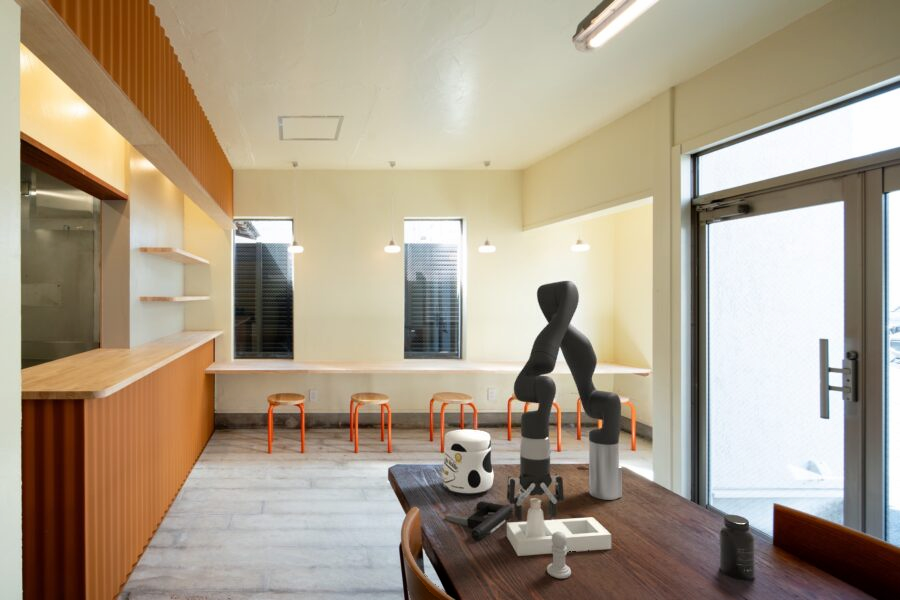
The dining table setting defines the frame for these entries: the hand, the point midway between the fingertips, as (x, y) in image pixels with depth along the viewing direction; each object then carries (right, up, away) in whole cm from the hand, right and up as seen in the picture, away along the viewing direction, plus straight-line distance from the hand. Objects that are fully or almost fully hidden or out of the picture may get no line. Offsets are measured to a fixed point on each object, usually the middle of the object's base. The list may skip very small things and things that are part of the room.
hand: (535, 518), depth 117 cm
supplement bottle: (+43, -6, -13) cm, 46 cm away
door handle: (-14, -8, +13) cm, 20 cm away
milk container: (-16, -8, +37) cm, 41 cm away
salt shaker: (0, -7, 0) cm, 7 cm away
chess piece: (+3, -6, -13) cm, 15 cm away
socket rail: (+6, -7, +1) cm, 9 cm away
